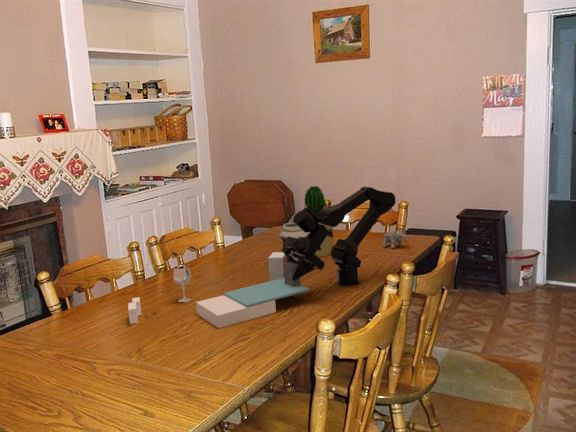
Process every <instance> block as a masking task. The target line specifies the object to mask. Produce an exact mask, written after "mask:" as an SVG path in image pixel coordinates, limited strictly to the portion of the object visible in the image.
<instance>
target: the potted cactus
mask: <svg viewBox="0 0 576 432" xmlns="http://www.w3.org/2000/svg"><path fill="white" fill-rule="evenodd" d="M323 191H324V188H323V189H322V188H321V187H320V186H319V185H313V186H312V185H310V186H309V187H308V188H307V189H306V190H305V193H304V198H303V203H304V206H305V207H306V208H309V209H310V210H311V212H312V213H313V214H316V213H319V211H320V210H321V209H324V208H326V207H325V206H327V203H326V200H325V198H326V197H327V196H324V195H325V194H324V192H323ZM318 223H319V224H320V225H323V224H321V223H320V222H318ZM324 226H325V227H326V228H327V229H332V234H333V233H334V227H331V226H326V225H324ZM333 235H334V234H333ZM332 243H333V237H328V236H327V237H326V238H325V240H324V241H323V243H322V244H321V246H320V248H321V250H320V251H318V250H317V252H316V253H315V255H317V256H318V257H319V258H321V257H326V256H329V255H331V251H332V247H333V245H332Z"/></svg>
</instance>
